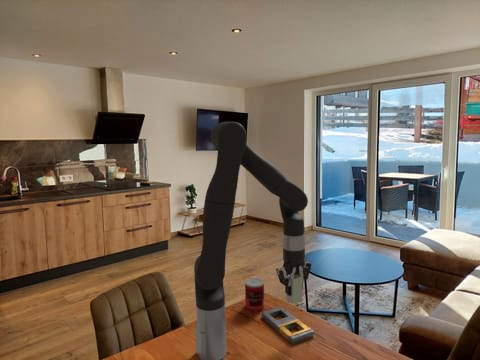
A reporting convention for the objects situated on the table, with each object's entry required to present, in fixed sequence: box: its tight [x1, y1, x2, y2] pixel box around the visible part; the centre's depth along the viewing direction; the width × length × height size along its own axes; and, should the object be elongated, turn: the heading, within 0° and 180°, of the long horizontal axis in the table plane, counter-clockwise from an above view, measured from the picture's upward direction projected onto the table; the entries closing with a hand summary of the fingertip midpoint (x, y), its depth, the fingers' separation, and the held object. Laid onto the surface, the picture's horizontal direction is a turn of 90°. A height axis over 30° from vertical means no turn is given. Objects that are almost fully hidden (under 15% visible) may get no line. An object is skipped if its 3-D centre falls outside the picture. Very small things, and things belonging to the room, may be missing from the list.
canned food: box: [244, 277, 265, 313], centre depth 140 cm, size 8×8×11 cm
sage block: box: [285, 275, 303, 305], centre depth 119 cm, size 4×4×9 cm
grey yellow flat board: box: [261, 306, 314, 345], centre depth 126 cm, size 9×20×2 cm, turn 27°
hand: (294, 293), depth 120 cm, fingers closed on sage block, 4 cm apart
